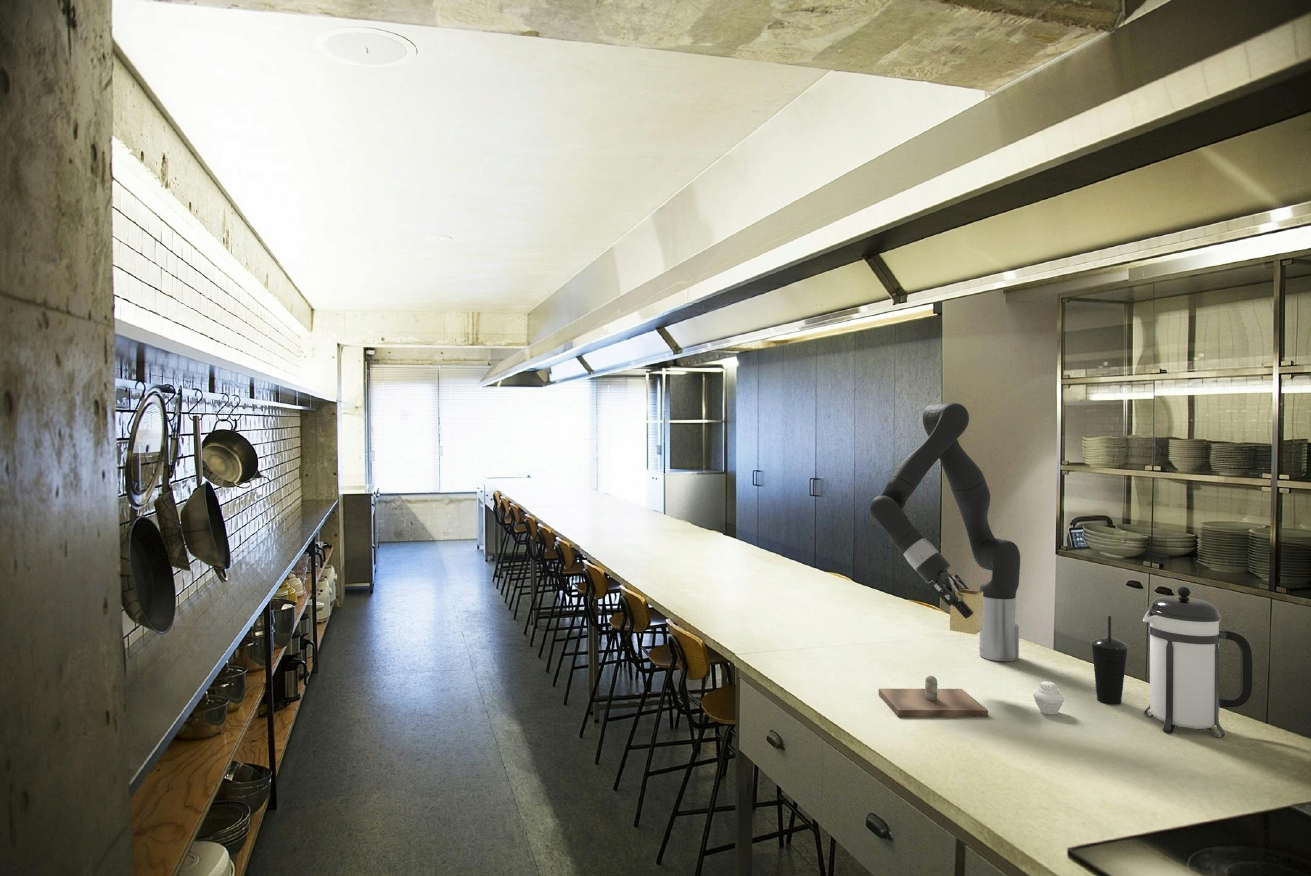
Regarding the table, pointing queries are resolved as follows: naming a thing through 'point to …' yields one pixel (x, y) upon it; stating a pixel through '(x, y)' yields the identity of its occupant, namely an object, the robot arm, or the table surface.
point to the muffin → (1048, 698)
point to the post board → (932, 702)
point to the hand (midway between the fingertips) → (973, 613)
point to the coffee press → (1190, 663)
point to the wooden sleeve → (976, 619)
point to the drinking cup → (1109, 667)
